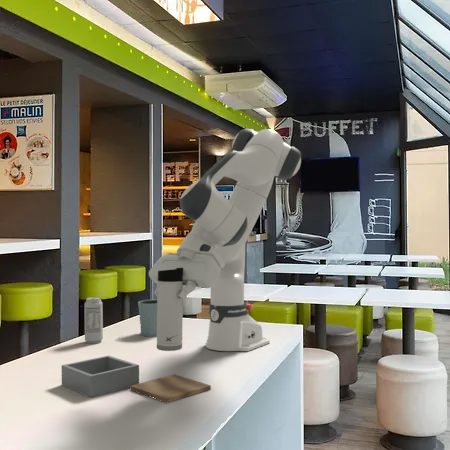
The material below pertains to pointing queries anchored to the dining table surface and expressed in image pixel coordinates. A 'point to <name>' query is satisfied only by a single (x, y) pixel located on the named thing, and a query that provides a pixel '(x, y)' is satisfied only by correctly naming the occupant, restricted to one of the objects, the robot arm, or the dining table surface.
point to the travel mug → (169, 310)
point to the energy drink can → (93, 320)
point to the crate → (100, 375)
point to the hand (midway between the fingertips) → (168, 296)
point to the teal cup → (148, 317)
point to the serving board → (170, 388)
